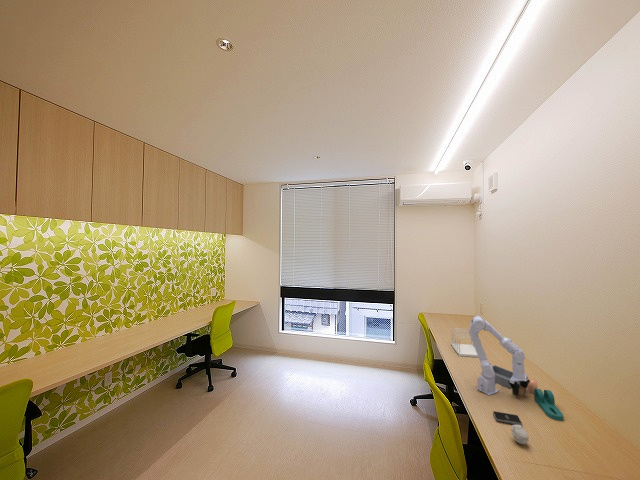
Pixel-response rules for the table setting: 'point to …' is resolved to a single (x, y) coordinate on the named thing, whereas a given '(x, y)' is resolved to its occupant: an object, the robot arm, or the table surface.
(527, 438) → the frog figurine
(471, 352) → the file sorter
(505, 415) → the external hard drive
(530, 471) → the table surface
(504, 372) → the tote
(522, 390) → the walnut cube
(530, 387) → the terracotta cylinder
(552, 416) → the bracket
